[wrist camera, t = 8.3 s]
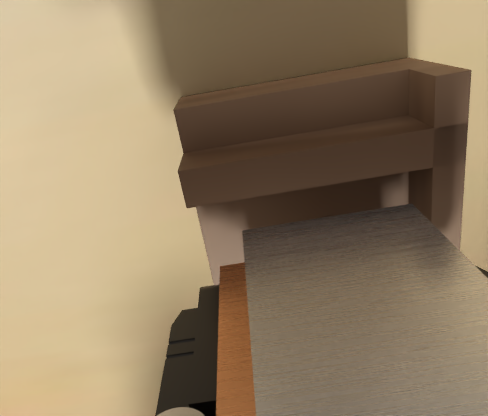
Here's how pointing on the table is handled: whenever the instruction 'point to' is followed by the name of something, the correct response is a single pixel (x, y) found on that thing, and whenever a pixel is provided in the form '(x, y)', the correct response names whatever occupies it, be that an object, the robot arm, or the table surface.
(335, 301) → the wood-topped grey cube
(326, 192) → the brown wooden rack
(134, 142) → the table surface
